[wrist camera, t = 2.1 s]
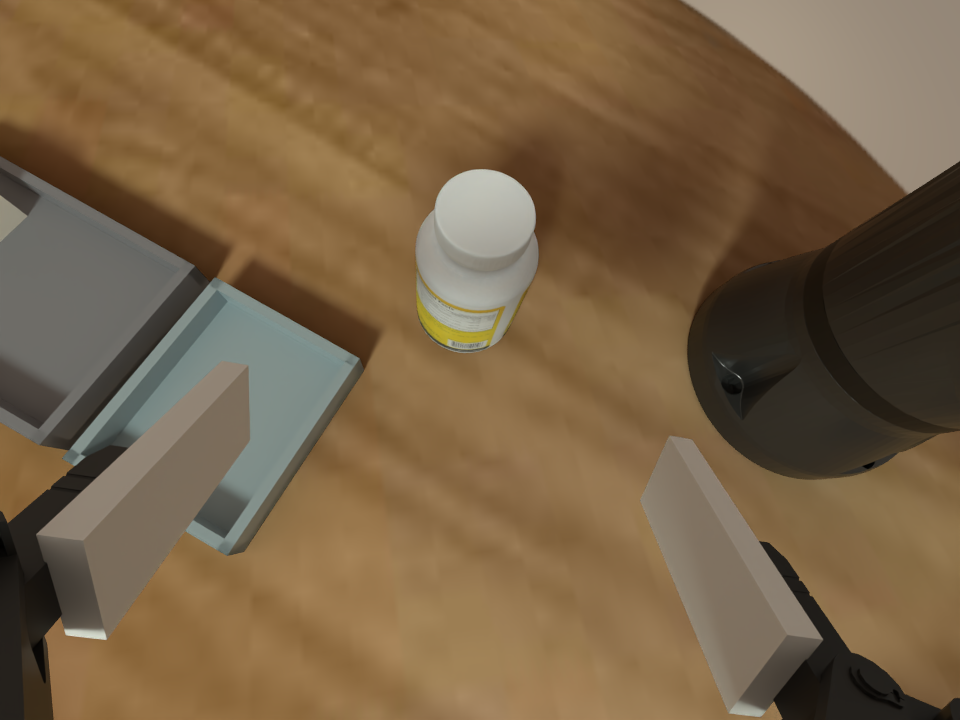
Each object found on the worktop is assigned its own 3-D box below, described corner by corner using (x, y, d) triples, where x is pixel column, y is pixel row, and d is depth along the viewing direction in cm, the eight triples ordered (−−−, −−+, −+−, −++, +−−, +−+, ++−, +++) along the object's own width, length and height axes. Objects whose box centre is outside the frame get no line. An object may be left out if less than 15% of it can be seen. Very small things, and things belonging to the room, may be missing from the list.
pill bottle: (493, 259, 34) (529, 140, 23) (524, 342, 33) (577, 256, 22) (404, 280, 33) (397, 164, 22) (431, 367, 31) (438, 290, 20)
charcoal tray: (-22, 152, 32) (-57, 124, 30) (211, 284, 31) (195, 265, 29) (-191, 296, 28) (-247, 276, 26) (72, 450, 27) (39, 445, 25)
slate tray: (230, 294, 31) (215, 277, 29) (364, 370, 31) (359, 358, 28) (92, 463, 27) (62, 458, 25) (243, 551, 27) (227, 555, 24)
